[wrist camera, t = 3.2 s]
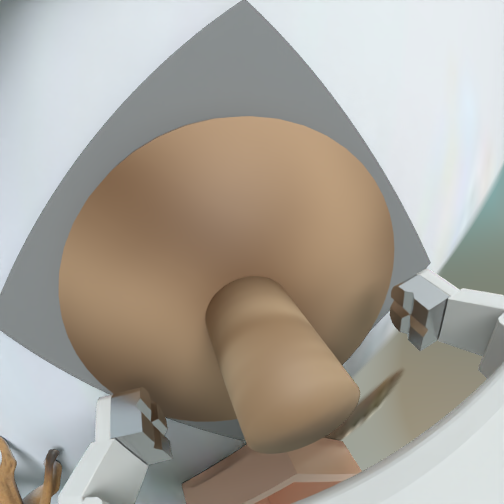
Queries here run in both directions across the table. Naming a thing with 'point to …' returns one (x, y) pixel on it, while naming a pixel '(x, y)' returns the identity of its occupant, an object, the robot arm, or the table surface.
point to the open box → (272, 475)
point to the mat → (167, 119)
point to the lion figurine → (9, 500)
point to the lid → (231, 277)
